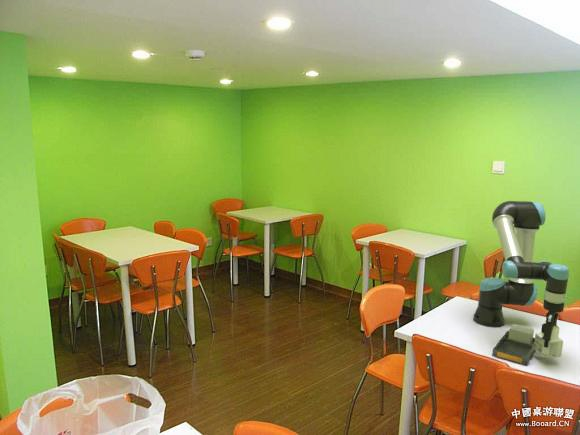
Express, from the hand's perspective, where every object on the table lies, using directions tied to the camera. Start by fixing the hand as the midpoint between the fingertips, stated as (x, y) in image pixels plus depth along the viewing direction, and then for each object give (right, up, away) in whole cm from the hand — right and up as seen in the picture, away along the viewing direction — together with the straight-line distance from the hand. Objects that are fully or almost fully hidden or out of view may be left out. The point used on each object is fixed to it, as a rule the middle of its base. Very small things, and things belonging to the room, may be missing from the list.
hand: (547, 348), depth 195 cm
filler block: (-3, -1, +16) cm, 17 cm away
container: (0, -2, 0) cm, 2 cm away
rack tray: (-8, -4, +11) cm, 14 cm away
